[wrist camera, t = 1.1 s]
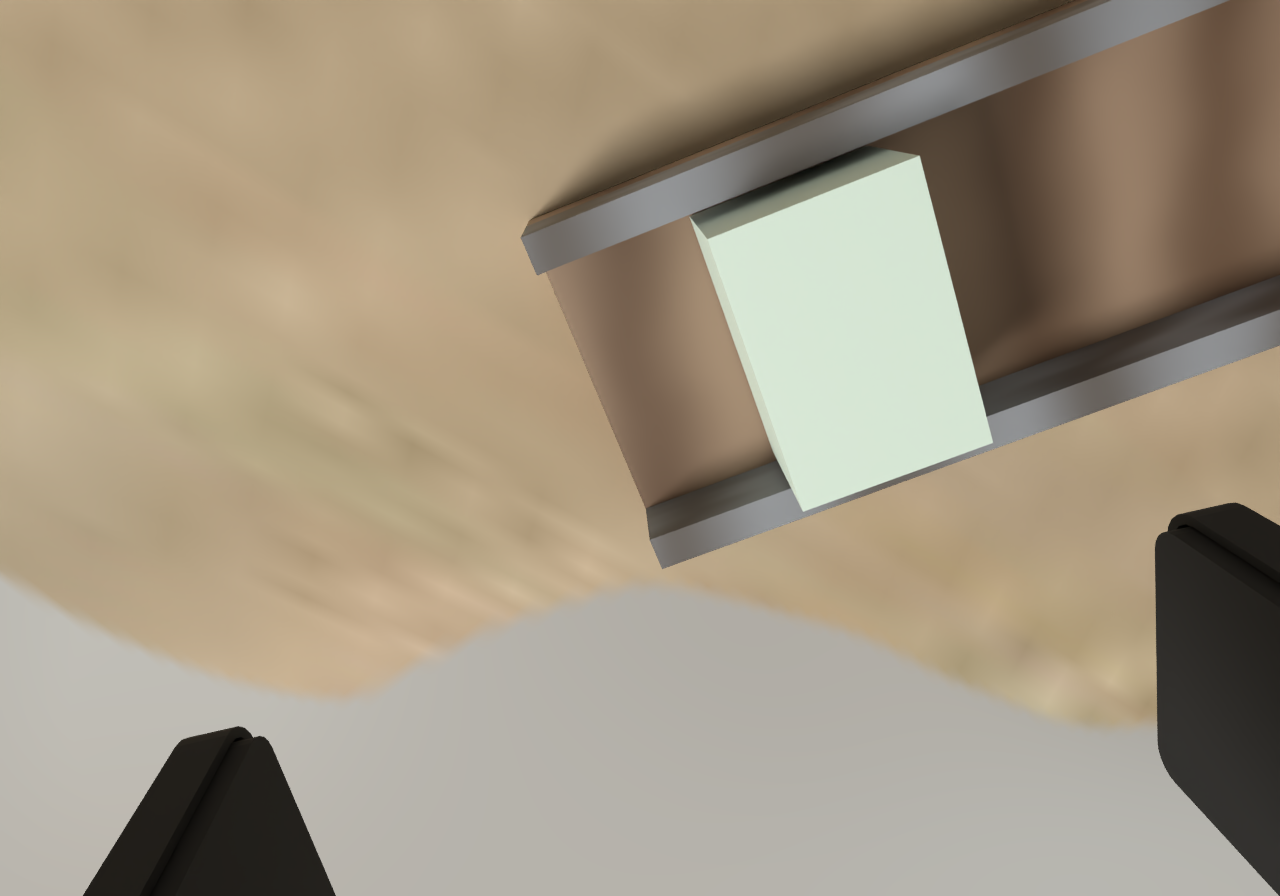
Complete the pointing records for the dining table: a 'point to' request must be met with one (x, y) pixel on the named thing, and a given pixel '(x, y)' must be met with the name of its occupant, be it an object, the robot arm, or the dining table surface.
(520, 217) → the dining table surface
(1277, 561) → the robot arm
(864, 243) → the sliding block
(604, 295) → the track
